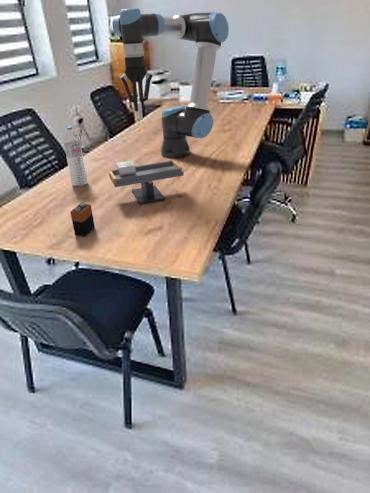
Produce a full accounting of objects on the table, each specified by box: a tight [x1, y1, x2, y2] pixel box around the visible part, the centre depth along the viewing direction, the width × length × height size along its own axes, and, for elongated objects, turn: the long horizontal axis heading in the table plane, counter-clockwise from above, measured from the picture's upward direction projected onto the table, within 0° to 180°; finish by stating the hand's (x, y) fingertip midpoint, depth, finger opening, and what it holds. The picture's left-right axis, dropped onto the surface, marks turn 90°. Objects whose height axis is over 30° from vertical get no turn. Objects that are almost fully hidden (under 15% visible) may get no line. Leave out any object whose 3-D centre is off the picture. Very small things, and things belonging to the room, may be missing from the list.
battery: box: [70, 201, 95, 237], centre depth 136 cm, size 4×7×10 cm, turn 163°
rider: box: [115, 160, 136, 178], centre depth 154 cm, size 6×6×5 cm
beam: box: [108, 160, 185, 188], centre depth 157 cm, size 27×12×4 cm, turn 110°
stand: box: [131, 181, 166, 206], centre depth 160 cm, size 10×14×7 cm
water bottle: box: [62, 126, 88, 188], centre depth 170 cm, size 7×7×25 cm
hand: (140, 119), depth 164 cm, fingers closed
